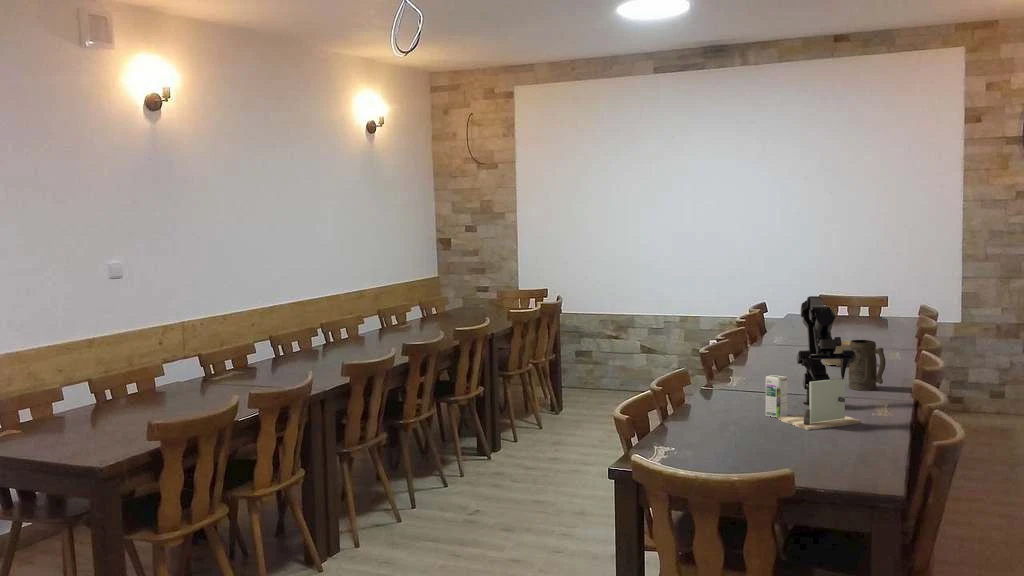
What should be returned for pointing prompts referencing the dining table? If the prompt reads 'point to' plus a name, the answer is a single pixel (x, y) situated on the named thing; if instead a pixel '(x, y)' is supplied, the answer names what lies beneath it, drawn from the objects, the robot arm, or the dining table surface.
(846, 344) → the planter bowl
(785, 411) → the syrup box
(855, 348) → the beer stein
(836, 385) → the door
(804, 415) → the door stand
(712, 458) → the dining table surface
